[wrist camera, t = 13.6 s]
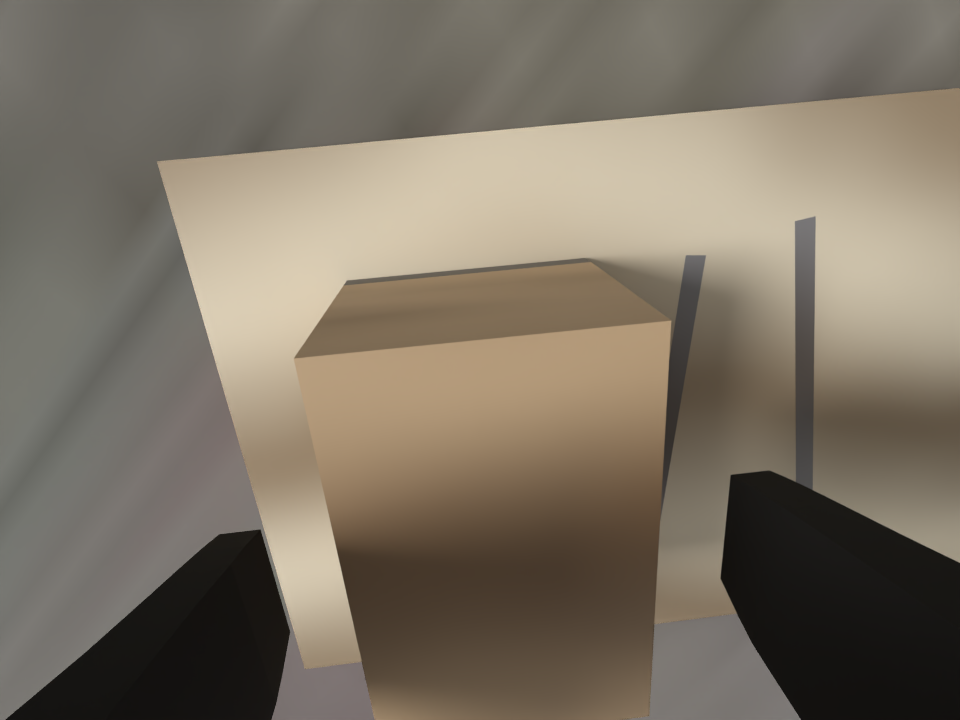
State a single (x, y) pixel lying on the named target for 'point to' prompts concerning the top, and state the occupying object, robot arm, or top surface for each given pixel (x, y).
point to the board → (644, 271)
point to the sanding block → (494, 487)
